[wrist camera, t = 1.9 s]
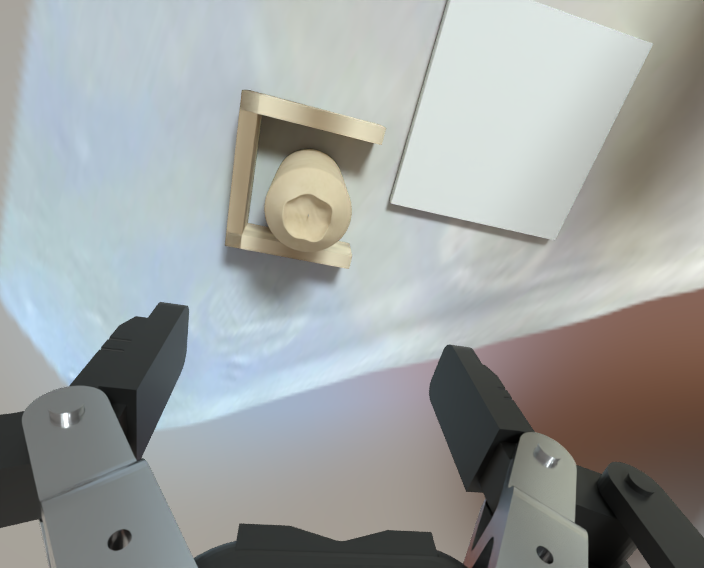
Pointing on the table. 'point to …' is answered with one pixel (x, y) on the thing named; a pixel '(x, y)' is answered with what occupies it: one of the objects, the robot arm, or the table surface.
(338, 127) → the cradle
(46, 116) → the table surface
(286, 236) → the candle
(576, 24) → the plate
